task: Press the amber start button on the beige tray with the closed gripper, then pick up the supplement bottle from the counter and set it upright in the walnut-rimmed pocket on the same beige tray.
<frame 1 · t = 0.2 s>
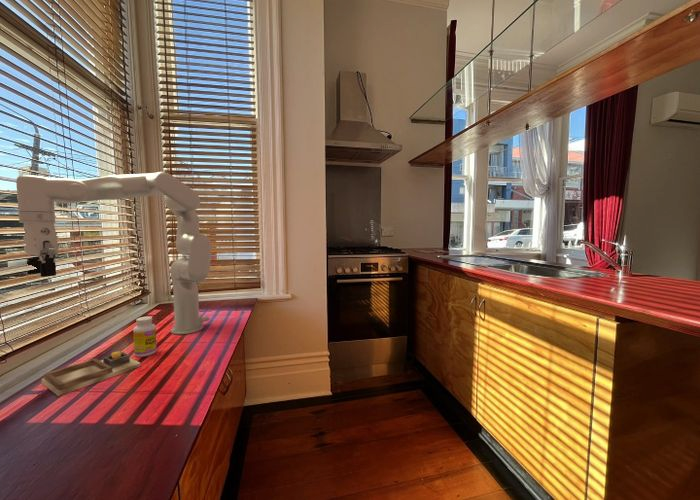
hand: (41, 274, 91), 31 cm above the worktop, tool pointing down, fingers open, 9 cm apart
beige tray: (94, 374, 92), on the worktop
supplement bottle: (145, 353, 108), on the worktop
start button: (116, 356, 97), point 3 cm above the worktop, slide at 0.0 cm
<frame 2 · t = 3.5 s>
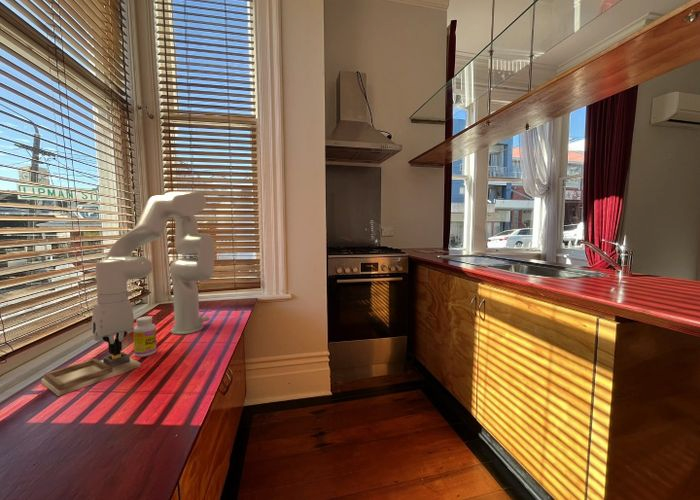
hand: (115, 353, 97), 4 cm above the worktop, tool pointing down, fingers closed
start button: (116, 357, 97), point 3 cm above the worktop, slide at 0.3 cm, touching gripper
everything else where it was.
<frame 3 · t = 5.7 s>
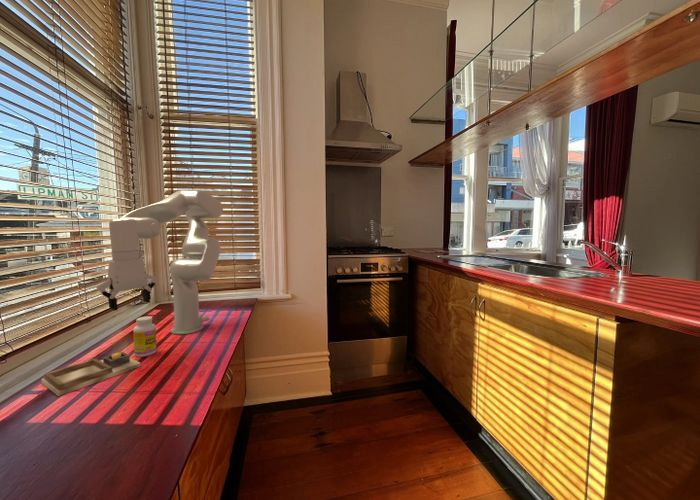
hand: (131, 305, 102), 19 cm above the worktop, tool pointing down, fingers open, 9 cm apart
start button: (116, 358, 97), point 3 cm above the worktop, slide at 0.5 cm
everything else where it was.
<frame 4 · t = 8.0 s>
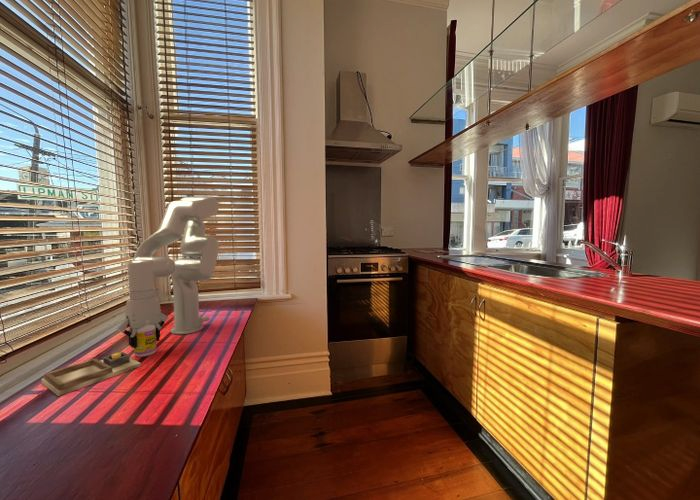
hand: (145, 343, 107), 4 cm above the worktop, tool pointing down, fingers closed on supplement bottle, 6 cm apart
supplement bottle: (145, 353, 108), on the worktop, touching gripper
everything else where it was.
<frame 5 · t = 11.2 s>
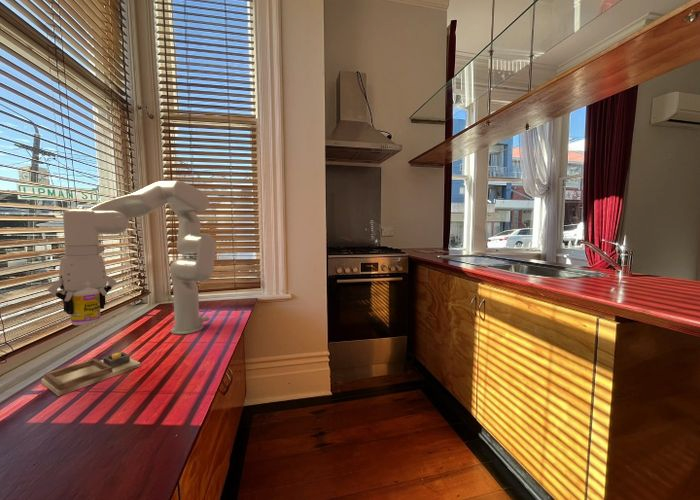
hand: (85, 310, 90), 20 cm above the worktop, tool pointing down, fingers closed on supplement bottle, 6 cm apart
supplement bottle: (86, 323, 90), point 16 cm above the worktop, touching gripper
everything else where it was.
when the fingers open (6 cm above the worktop, at t = 14.6 s): supplement bottle stays where it is, resting on beige tray.
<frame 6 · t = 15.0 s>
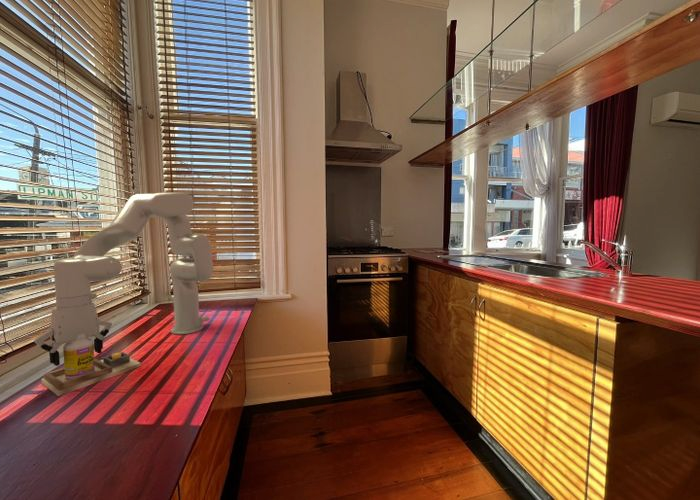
hand: (78, 358, 89), 6 cm above the worktop, tool pointing down, fingers open, 9 cm apart
supplement bottle: (80, 375, 89), point 1 cm above the worktop, touching beige tray
everything else where it was.
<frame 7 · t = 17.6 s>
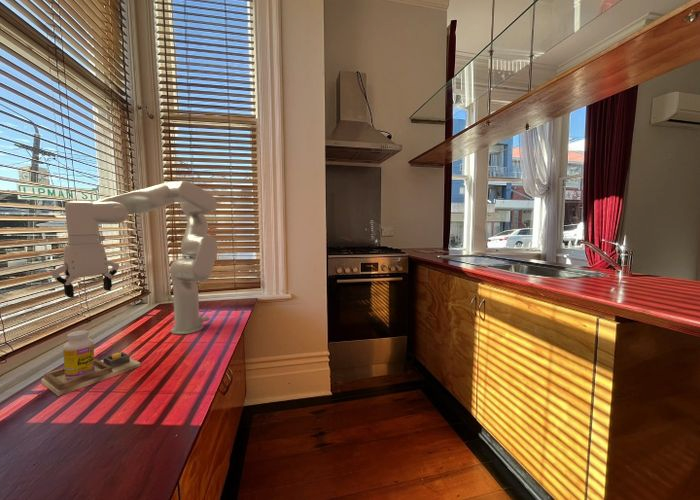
hand: (89, 293, 97), 24 cm above the worktop, tool pointing down, fingers open, 9 cm apart
nothing on the worktop moved.
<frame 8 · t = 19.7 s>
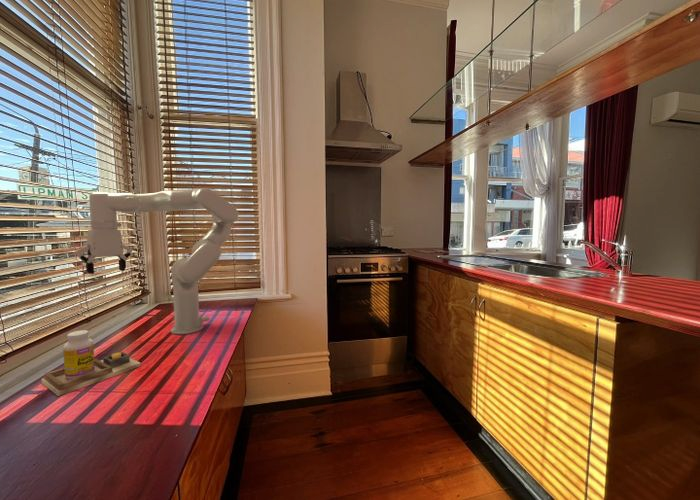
hand: (107, 271, 112), 28 cm above the worktop, tool pointing down, fingers open, 9 cm apart
nothing on the worktop moved.
at the end: supplement bottle 0.3 cm from the target spot on the beige tray, point 1.0 cm above the beige tray's base; supplement bottle tilted 0°; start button slide at 0.5 cm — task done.
